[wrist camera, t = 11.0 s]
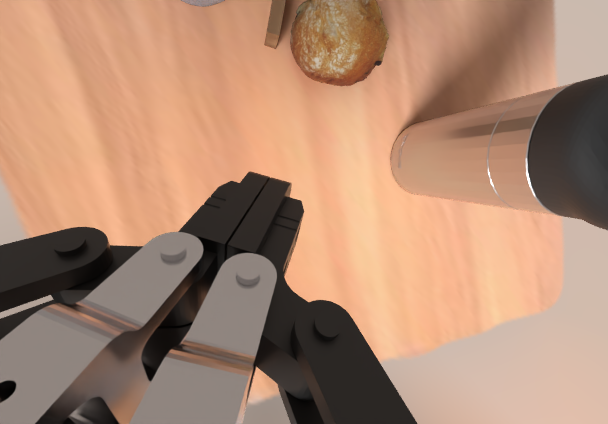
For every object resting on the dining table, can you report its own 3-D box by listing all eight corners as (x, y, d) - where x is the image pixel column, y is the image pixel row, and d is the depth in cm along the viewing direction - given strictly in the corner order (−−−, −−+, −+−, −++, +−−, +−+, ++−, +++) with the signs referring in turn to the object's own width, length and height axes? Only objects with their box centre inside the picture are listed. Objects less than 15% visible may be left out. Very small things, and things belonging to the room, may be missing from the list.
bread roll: (317, 3, 34) (305, -62, 26) (399, 25, 32) (413, -37, 24) (287, 81, 34) (266, 41, 26) (366, 107, 32) (369, 72, 25)
